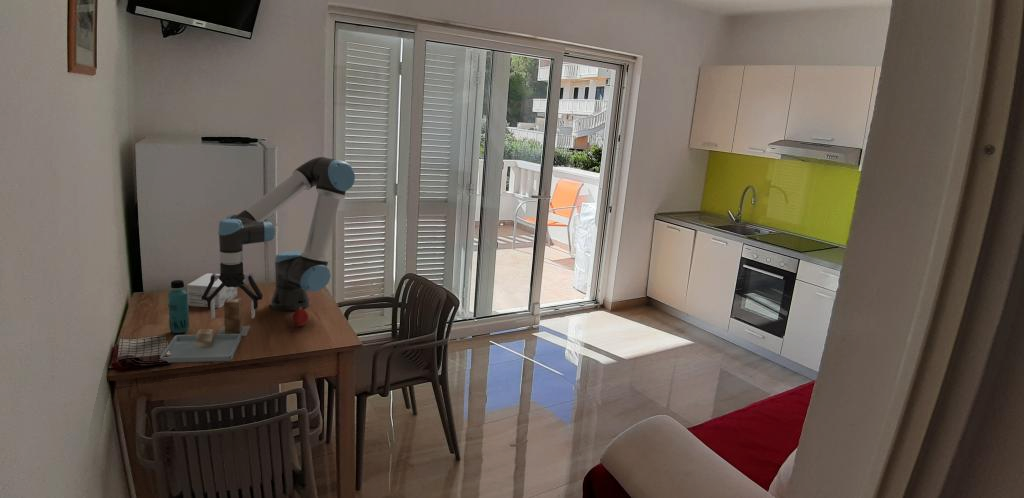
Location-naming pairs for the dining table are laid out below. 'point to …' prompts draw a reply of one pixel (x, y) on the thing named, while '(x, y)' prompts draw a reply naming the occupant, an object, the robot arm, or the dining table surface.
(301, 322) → the onion
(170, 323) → the beverage bottle
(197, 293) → the supplement box
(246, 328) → the slate coaster
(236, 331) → the walnut box
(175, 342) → the bin
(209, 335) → the birch block
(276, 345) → the dining table surface
